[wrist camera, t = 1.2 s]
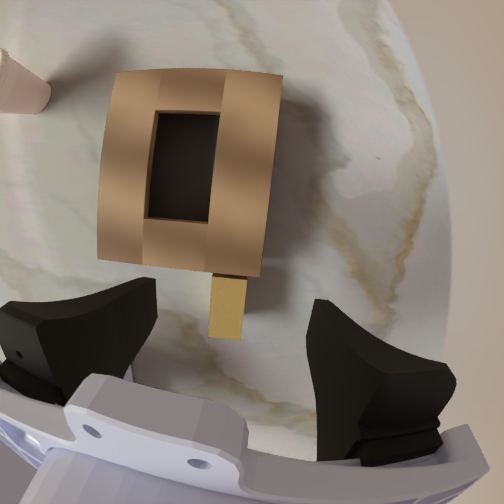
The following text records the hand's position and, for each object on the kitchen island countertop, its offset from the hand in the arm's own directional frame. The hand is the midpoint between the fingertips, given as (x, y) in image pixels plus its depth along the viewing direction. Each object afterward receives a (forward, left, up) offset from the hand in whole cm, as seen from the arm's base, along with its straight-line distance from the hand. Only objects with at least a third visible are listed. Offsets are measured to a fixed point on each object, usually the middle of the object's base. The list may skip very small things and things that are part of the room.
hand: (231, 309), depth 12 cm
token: (-4, 0, -12) cm, 12 cm away
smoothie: (+14, +23, -12) cm, 30 cm away
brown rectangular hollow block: (+6, +4, -12) cm, 14 cm away
